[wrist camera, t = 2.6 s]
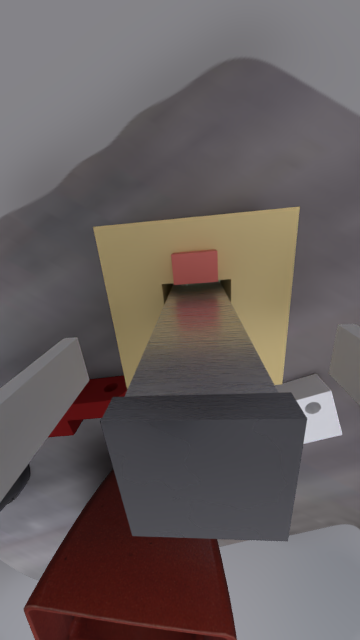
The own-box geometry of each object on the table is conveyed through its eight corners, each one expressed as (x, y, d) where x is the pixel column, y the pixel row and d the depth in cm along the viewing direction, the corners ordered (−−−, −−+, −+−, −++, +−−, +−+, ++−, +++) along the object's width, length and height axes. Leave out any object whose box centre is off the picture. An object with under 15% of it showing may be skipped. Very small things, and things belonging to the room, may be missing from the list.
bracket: (235, 436, 33) (246, 491, 26) (218, 400, 31) (225, 450, 24) (326, 412, 30) (366, 466, 23) (315, 372, 28) (355, 418, 21)
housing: (145, 347, 28) (121, 401, 19) (126, 229, 23) (82, 226, 14) (257, 342, 27) (289, 397, 18) (263, 216, 22) (312, 203, 13)
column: (178, 310, 26) (129, 537, 6) (174, 271, 24) (95, 418, 5) (217, 308, 25) (291, 543, 6) (216, 268, 24) (313, 414, 4)
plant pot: (98, 440, 35) (18, 610, 19) (219, 454, 34) (240, 641, 18) (104, 513, 42) (49, 681, 26) (204, 525, 41) (210, 705, 25)
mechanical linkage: (42, 411, 33) (17, 439, 29) (22, 371, 31) (-9, 396, 26) (143, 401, 31) (134, 430, 27) (130, 358, 29) (118, 382, 24)
